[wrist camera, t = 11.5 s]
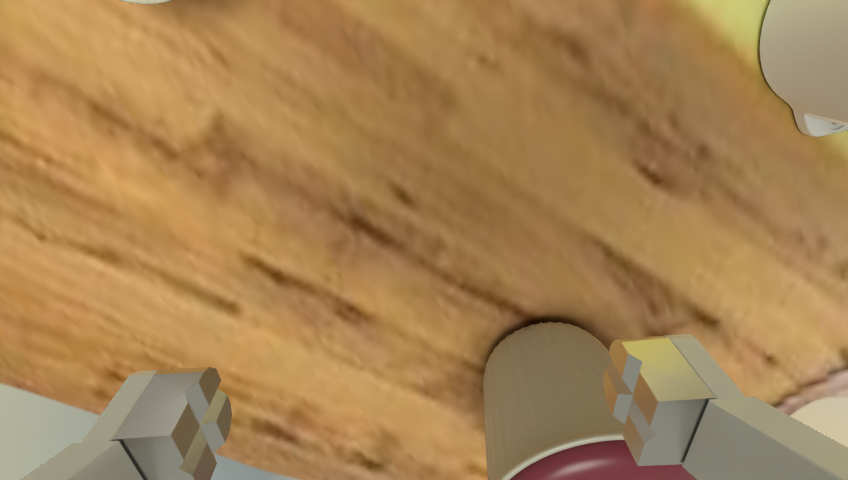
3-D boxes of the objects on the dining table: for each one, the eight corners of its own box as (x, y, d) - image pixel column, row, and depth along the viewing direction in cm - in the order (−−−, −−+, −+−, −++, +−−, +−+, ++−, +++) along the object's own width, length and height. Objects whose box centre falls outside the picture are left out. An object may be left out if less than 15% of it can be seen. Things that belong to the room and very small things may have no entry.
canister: (615, 401, 54) (724, 613, 35) (469, 421, 54) (502, 639, 36) (626, 282, 45) (781, 486, 26) (451, 308, 45) (483, 523, 27)
